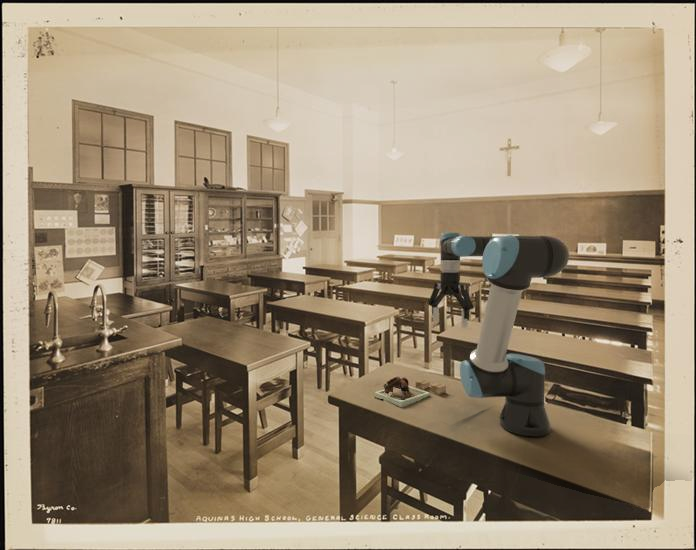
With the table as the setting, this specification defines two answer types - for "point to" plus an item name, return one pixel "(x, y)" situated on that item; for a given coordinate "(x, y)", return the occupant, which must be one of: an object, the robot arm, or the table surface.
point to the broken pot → (397, 385)
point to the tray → (402, 402)
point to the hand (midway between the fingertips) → (449, 325)
